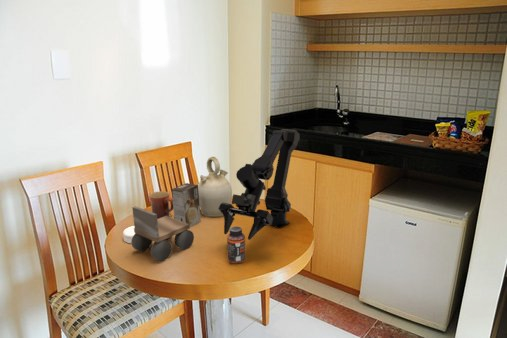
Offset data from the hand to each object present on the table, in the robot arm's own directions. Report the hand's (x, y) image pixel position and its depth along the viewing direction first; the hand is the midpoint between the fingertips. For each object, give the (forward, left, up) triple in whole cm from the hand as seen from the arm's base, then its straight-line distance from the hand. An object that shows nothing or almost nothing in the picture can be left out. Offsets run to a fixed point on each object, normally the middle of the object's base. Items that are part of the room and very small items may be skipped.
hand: (236, 236), depth 129 cm
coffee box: (-10, -36, -8) cm, 38 cm away
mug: (-8, -49, -8) cm, 50 cm away
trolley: (+10, -26, -8) cm, 29 cm away
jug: (-26, -36, -8) cm, 45 cm away
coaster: (+11, -42, -9) cm, 44 cm away
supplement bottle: (0, 0, -8) cm, 8 cm away
